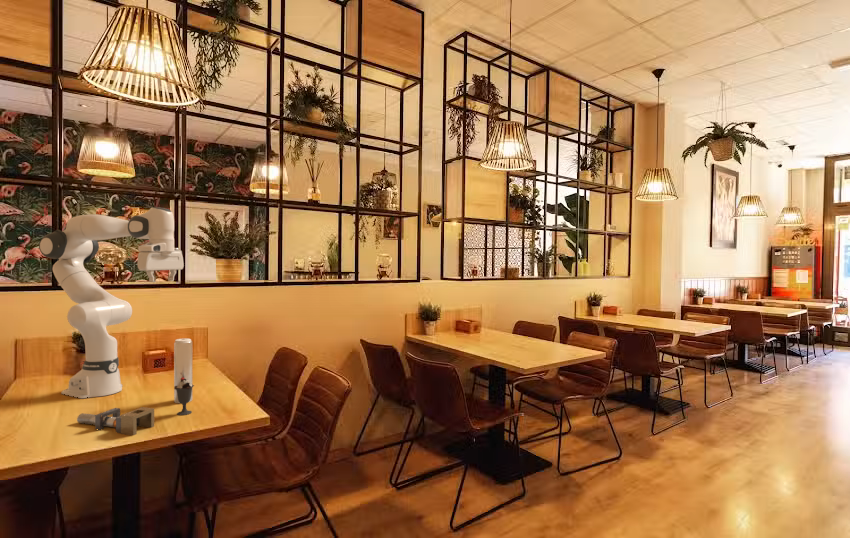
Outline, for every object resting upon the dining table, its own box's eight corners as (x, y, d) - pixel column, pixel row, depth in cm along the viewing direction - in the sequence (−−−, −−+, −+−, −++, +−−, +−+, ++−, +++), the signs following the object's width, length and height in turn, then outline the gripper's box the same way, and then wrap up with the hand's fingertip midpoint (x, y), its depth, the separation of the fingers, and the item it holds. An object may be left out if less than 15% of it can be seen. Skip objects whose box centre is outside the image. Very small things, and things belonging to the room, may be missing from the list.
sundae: (178, 410, 175) (178, 371, 175) (197, 410, 176) (197, 371, 175) (170, 416, 169) (170, 375, 168) (189, 416, 169) (189, 375, 169)
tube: (76, 424, 160) (77, 414, 160) (85, 421, 163) (86, 412, 163) (119, 429, 155) (119, 419, 155) (127, 426, 158) (127, 416, 158)
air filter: (184, 404, 183) (184, 341, 182) (170, 402, 184) (170, 340, 183) (196, 399, 189) (196, 338, 188) (182, 397, 190) (182, 337, 190)
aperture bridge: (120, 433, 152) (120, 415, 152) (142, 424, 160) (142, 407, 160) (133, 435, 151) (133, 416, 151) (154, 426, 159) (154, 408, 159)
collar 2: (115, 432, 153) (115, 417, 153) (135, 424, 160) (135, 410, 160) (120, 433, 152) (120, 418, 152) (140, 425, 160) (140, 410, 160)
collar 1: (95, 429, 155) (95, 415, 155) (115, 422, 162) (115, 407, 162) (100, 430, 154) (100, 415, 154) (120, 422, 162) (120, 408, 162)
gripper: (175, 247, 198) (175, 280, 199) (134, 246, 178) (134, 282, 179) (187, 247, 197) (187, 280, 197) (147, 246, 177) (148, 282, 177)
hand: (161, 281), depth 188 cm, fingers open, 8 cm apart
